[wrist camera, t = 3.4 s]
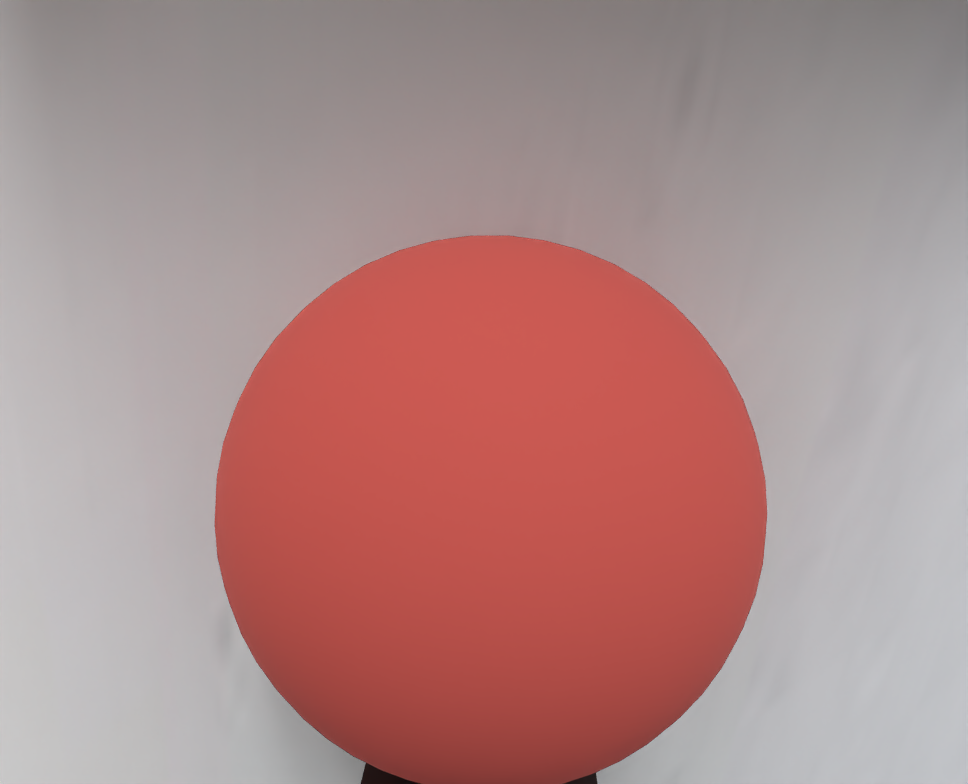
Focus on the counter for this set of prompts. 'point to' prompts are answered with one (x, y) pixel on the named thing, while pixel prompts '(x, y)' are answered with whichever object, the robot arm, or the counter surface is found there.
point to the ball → (490, 513)
